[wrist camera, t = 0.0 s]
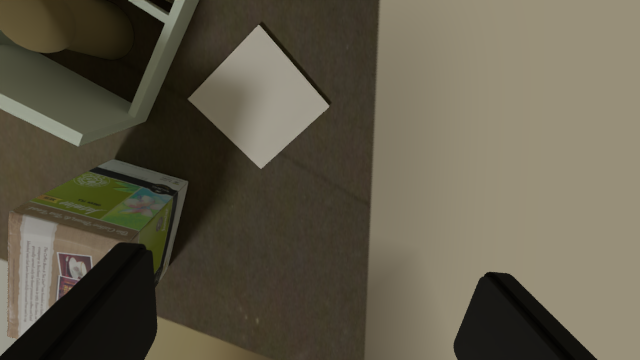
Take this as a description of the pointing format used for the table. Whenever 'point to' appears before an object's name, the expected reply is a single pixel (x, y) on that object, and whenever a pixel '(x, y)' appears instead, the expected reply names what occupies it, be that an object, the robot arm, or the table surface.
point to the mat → (259, 98)
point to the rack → (85, 85)
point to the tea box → (86, 233)
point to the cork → (68, 26)
